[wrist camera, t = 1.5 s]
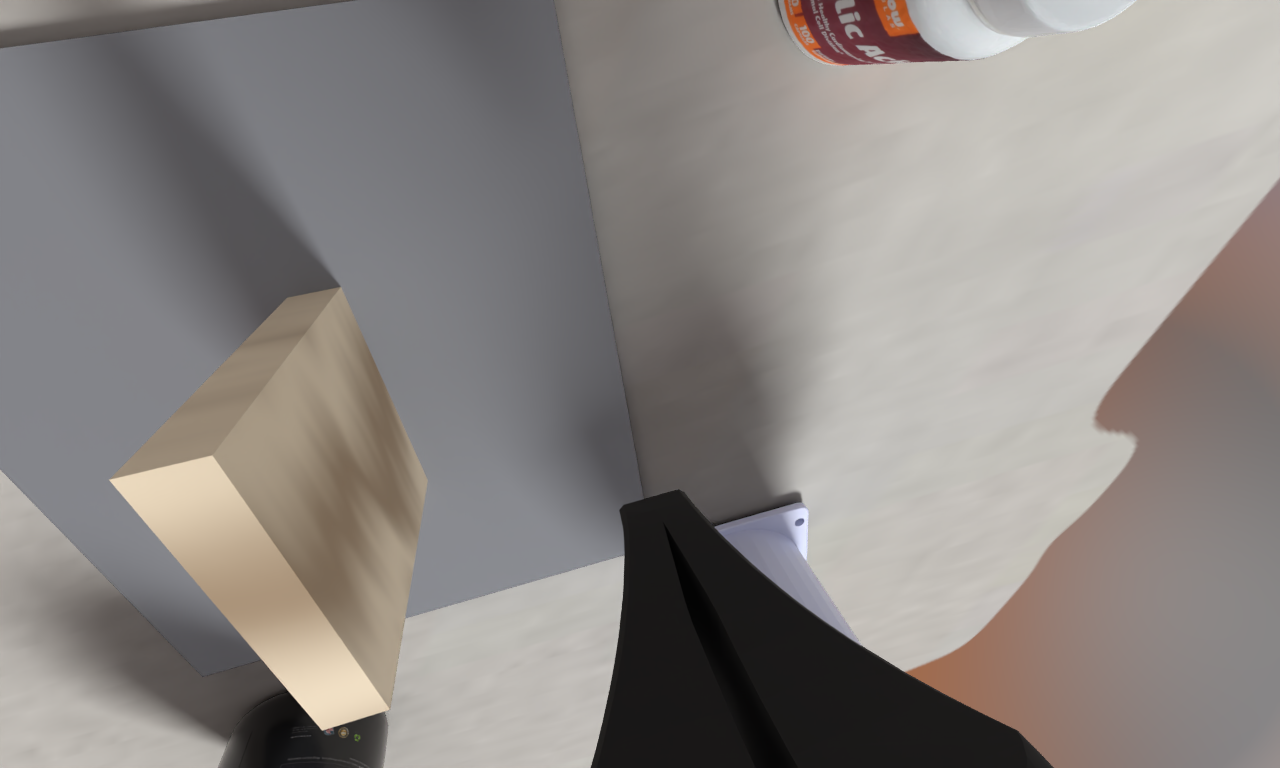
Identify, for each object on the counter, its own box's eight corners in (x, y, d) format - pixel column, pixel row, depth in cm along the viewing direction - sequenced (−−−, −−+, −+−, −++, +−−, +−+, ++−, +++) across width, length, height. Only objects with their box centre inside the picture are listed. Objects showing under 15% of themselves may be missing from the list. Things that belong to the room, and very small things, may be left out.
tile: (427, 480, 21) (389, 710, 13) (381, 492, 21) (315, 732, 13) (341, 286, 17) (212, 455, 9) (281, 298, 16) (98, 482, 9)
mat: (650, 540, 26) (652, 547, 25) (206, 668, 23) (202, 677, 23) (547, -24, 15) (549, -27, 14) (-338, 97, 12) (-362, 97, 12)
